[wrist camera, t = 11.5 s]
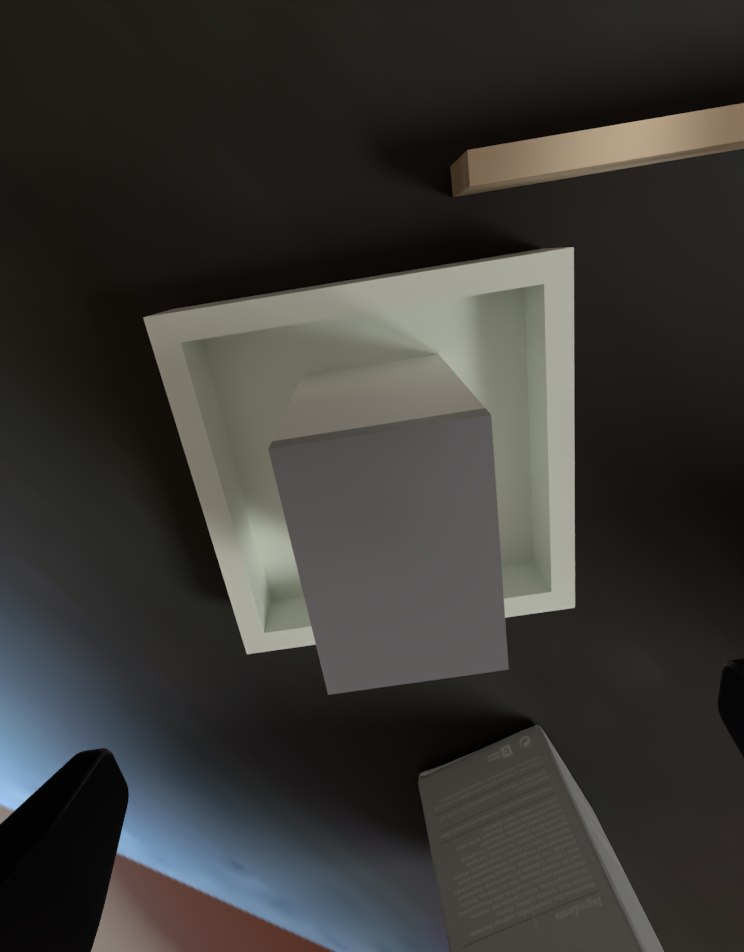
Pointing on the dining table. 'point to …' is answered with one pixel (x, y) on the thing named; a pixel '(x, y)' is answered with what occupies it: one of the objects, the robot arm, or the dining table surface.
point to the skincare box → (525, 856)
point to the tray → (366, 343)
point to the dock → (599, 150)
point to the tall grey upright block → (394, 523)
